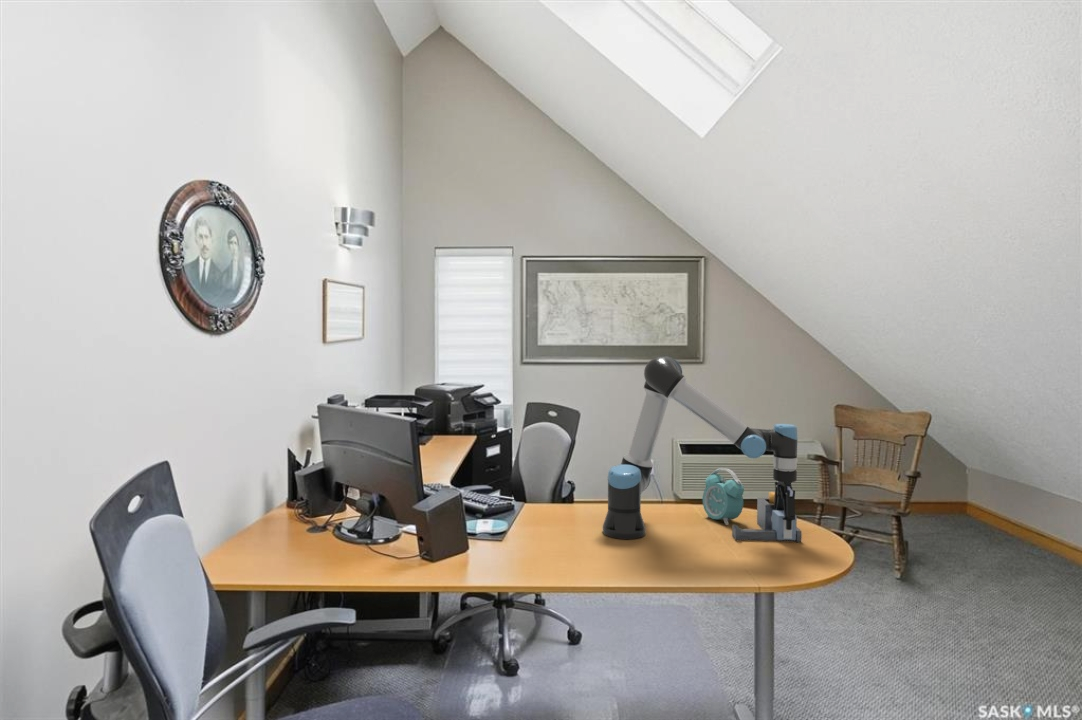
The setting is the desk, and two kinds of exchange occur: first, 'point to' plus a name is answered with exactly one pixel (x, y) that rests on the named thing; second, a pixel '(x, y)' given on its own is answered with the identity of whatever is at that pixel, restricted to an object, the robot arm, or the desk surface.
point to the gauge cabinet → (764, 513)
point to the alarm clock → (723, 496)
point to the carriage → (778, 524)
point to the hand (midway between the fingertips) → (783, 534)
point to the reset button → (771, 497)
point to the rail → (760, 534)
